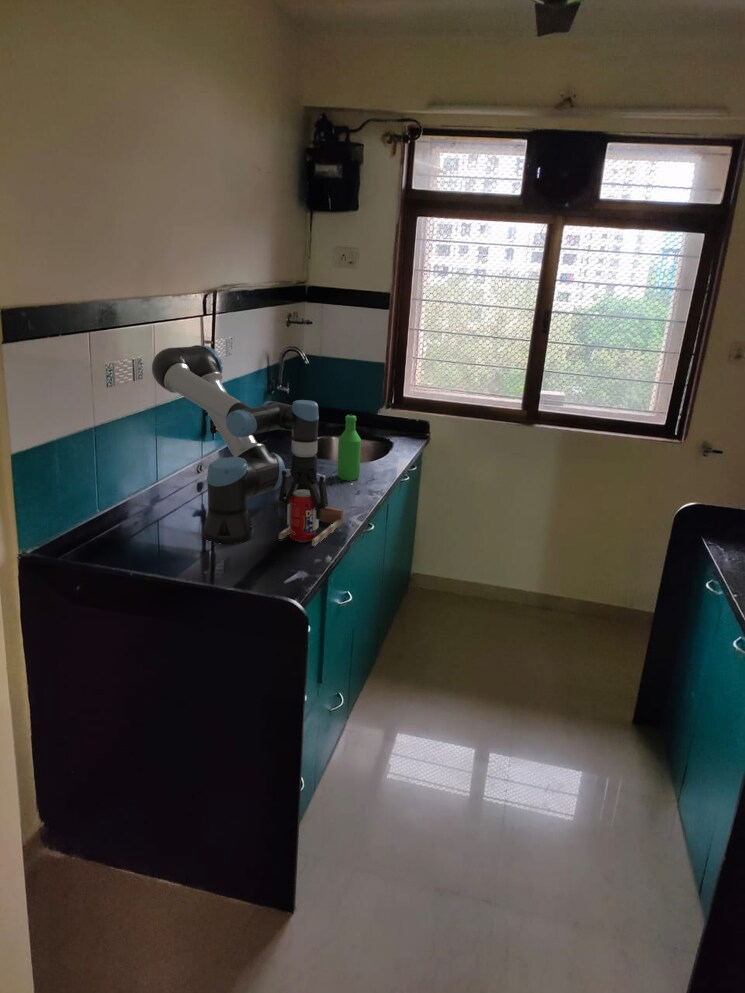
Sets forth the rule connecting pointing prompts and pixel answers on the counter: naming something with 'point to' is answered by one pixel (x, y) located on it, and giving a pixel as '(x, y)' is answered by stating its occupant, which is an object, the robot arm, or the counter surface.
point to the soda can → (301, 516)
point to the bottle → (349, 451)
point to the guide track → (327, 516)
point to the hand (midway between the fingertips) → (302, 526)
